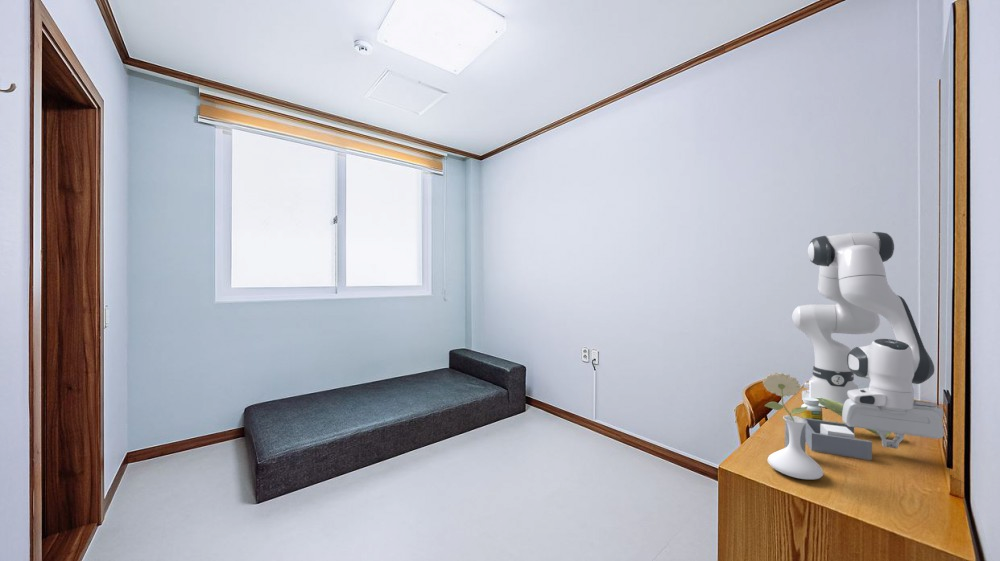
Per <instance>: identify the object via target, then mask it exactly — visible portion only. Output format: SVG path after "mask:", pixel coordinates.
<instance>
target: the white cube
mask: <svg viewBox="0 0 1000 561" xmlns="http://www.w3.org/2000/svg"><path fill="white" fill-rule="evenodd" d="M820 434H827V435H834V436H841V437H847V438H854V439H856V436H855V432H854V433H852V432H851V431H850V430H849V429H848V428H847V427H843V426H835V425H827V424H820Z"/></svg>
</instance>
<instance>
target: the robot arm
mask: <svg viewBox="0 0 1000 561" xmlns="http://www.w3.org/2000/svg"><path fill="white" fill-rule="evenodd" d="M894 252H895V243H894V240H893V237H892V236H891V235H890V234H888V233H887V232H880V231H873V232H847V233H840V234H839V233H838V234H833V235H827V236H826V235H822V236H817V237H814V238H813V239H811V241H810V242H809V244H808V247H807V256H808V259H809V260H810V262H811V263H812V264H814V265H815V266H819V269H818V280H817V291H818V293H819V294H820V295H821V296H822V297H824V298H825V299H828V300H829V301H833V302H835V303H836V304H819V303H818V304H815V303H812V304H803V305H797V306H796V307H795V308H794V310H793V311H792V314H791V320H792V323H793V325H794V326H795V327H796V328H797V329H798V330H799V331H801V332H802V333H804V334H805V335H806V336H807V337H808V338H809V340H810V343H811V344H812V347H813V356H814V366H813V368H812V376H811V377H810V379H809V380H808V382H807V381H806V382H803V388H804V389H806V390H802V391H801V400H803V398H806V397H809V398H811V397H819V398H825V399H829V400H832V401H835V402H838V403H841V404H844V406H843V411H842V416H841V418H842V419H841V420H842V422H843V423H845V424H846V425H848V426H850V427H854V428H856V429H857V428H858V429H864V430H866V429H871V430H877V433H878V435H879V436H878V435H877V436H878V437H880V439H881V445H882V447H884V448H891V449H895V450H899V444H900V443H902V441H903V440H904V439H905V435H907V436H908V435H909V436H914V437H921V438H928V439H935V440H941V439H942V438H943V437H944V436H945V434H944V433H945V432H944V431H945V430H944V423H943V419H944V409H943V408H942V407H941V406H940V405H938V404H936V403H935V402H924V401H919V400H914V399H915V397H914V396H915V395H914V394H915V388H914V386H913V384H914V385H920V384H922V383H924V382H926V381H927V380H929V379H930V378H931V377H932V376H933V375H934V374H935V365H934V362H933V360H932V357H931V356H930V354H929V353H928V351H927V350H926V348H925V346H924V343H923V340H922V338H921V335H920V333H919V330H918V328H917V325H916V323H915V320H914V317H913V315H912V312H911V310H910V308H909V306H908V304H907V302H906V300H905V298H903V297H902V296H900V295H898V294H896V292H895V291H893V289H892V288H891V286H890V285H889V282H888V279H887V274H886V269H885V265H884V262H888V260H890V259H892V257H893V255H894ZM880 316H882V317H883V318H885V319H886V320H887V321H888V323H889V324H890V326H891V329H892V332H893V334H894V337H895V339H892V338H891V339H889V338H878V339H874V340H873V341H872V342H871V343H870V344H868V345H863V346H855V347H853V348H852V349H851V348H850V347H849V346H847V345H846V344H844V343H842V342H840V341H838V340H835V339H833V337H832V334H842V335H844V334H846V335H865V334H872V333H875V332H876V331H877V329H878V328H879V326H880V325H881V318H880ZM855 376H856V377H859V378H864V379H869V384H868V387H864V388H859V385H857V384H856V383H855V382H854V377H855ZM819 406H820V407H821V408H826V407H825V406H823V405H821V404H820V403H819ZM886 432H891V434H892V433H893V434H894V435H895V437H893V439H888V438H887V437H886V438H885V437H884V435H886Z"/></svg>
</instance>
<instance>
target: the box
mask: <svg viewBox="0 0 1000 561" xmlns="http://www.w3.org/2000/svg"><path fill="white" fill-rule="evenodd" d="M800 417H801V418H802V416H800ZM804 419H806V420H807V421H808V422H807V423H806V442H805V444H807V446H808V448H809V449H810V451H813V452H817V453H824V454H830V455H835V456H842V457H848V458H853V459H859V460H865V461H873V455H872V454H873V442H872V441H871V440H867V439H860V438H855V439H854V438H847V437H841V436H834V435H827V434H820V424H827V425H835V426H843V427H847V428H848V429H849V430H850V431H851V432H852V433H854V434H855V427H850V426H848V425H846V424H845V423H844V422H836V421H830V420H824V419H823V420H816V419H809V418H804Z"/></svg>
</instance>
